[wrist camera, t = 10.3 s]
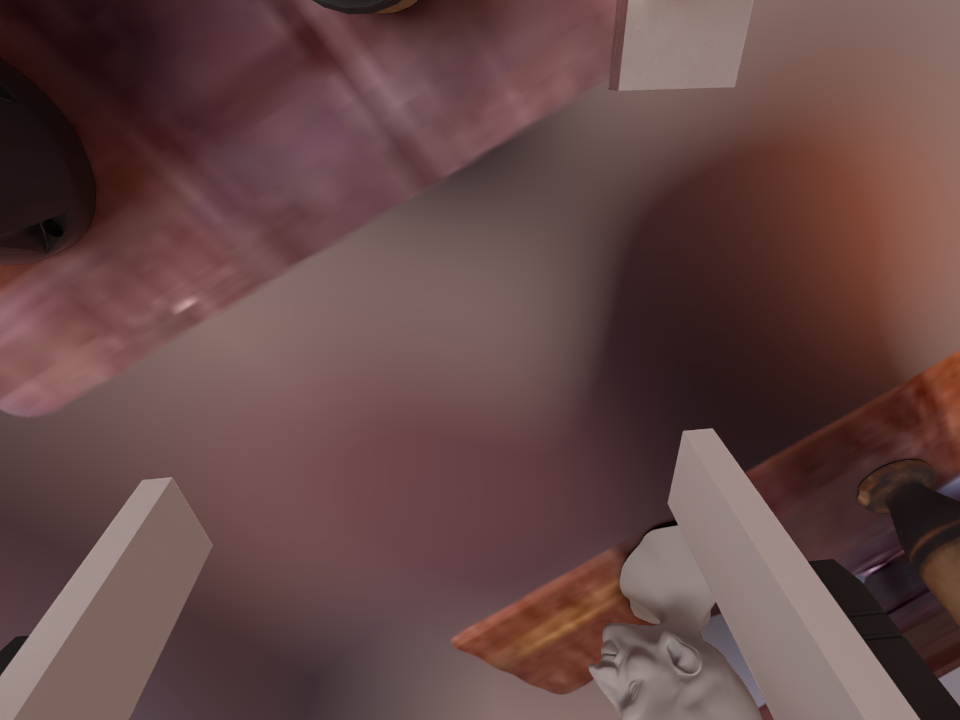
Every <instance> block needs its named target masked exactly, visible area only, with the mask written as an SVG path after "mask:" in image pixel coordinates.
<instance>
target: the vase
mask: <svg viewBox="0 0 960 720" xmlns="http://www.w3.org/2000/svg"><path fill="white" fill-rule="evenodd" d="M936 481H937V476H936V473H935V471H934V470H933V469H932V468H931V467H930V466H929V465H928V464H927V463H925V462H924V461H920V460H913V459H912V460H902V461H898V462H894V463H891V464H888V465H886V466H884V467H882V468H880V469H878V470H876V471H875V472H873V473H872V474H871V475H869V477H867V478H866V479H865V480H864V481H863V482H862V483H861V485H860V487H859V490H860V492H859V495H858V497H857V500H858V502H859V503H860V505H862V506H863V507H864V508H866V509H867V510H869V511H870V512H873V513H876V514H888V513H891V516H892V519H893V522H894V526H895V529H896V532H897V535H898V538H899V540H900V543H901V546H902V548H903V550H904V552H905V554H906V556H907V558H908V559H909V561H910V562H911V564H912V566H913V567H914V569H915V570H916V572H917V573H918V575H919V576H920V578H921V579H922V580H923V582H924V583H925V584H926V586H927V587H928V588H929V590H930V591H931V592H932V593H933V595H934V596H935V597H936V598H937V600H938V601H939V602H940V603H941V604H942V606H943V607H944V608H945V609H946V610H947V612H948V613H949V614H950V615H951V617H952V618H953V619H954V621H955V622H956V623H957V624H958V626H959V627H960V502H959V501H957V500H954V499H952V498H949V497H947V496H944V495H942V494H940V493H938V492H935V491H933V488H934V486H935V484H936Z"/></svg>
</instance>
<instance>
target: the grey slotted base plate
mask: <svg viewBox="0 0 960 720" xmlns="http://www.w3.org/2000/svg"><path fill="white" fill-rule="evenodd" d="M753 5H754V0H617V9H616V19H615V29H614V39H613V48H612V58H611V68H610V78H609V88H608V89H609V90H615V91H636V90H663V89H664V90H666V89H694V88H695V89H697V88H728V87H735V85H736V80H737V76H738V71H739V67H740V63H741V58H742V53H743V49H744V45H745V40H746V36H747V31H748V27H749V22H750V18H751V14H752V9H753Z"/></svg>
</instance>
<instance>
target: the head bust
mask: <svg viewBox="0 0 960 720" xmlns="http://www.w3.org/2000/svg"><path fill="white" fill-rule="evenodd" d="M620 589H621V592H622V594H623V595H624V596H625V597H627V598H628V599H629V600H630V607H631V610H632V612H633V613H634V615H635V616H636V617H638V618H640V619H642V620H645V621H647V622H650V623H653V624H658V625H654V626H644V625H633V624H623V623H610V624H608V625H606V626H605V628H604V630H603V642H604V646H603V647H602V649H601V654H602V658H601V660H600V664H601V666H599V665H596V664H590V665H589V671H590V673H591V675H592V676H593V678H594V679H595V681H596V683H597V684H598V686H599V687H600V688H601V690H602V691H603V693H604V694H605V695H606V696H607V697H608V698H609V699H610V701H611V702H612V703H613V705H614V706H615V707H616V709H617V713H618V716H619V720H762V718H761V715H760V712H759V709H758V707H757V705H756V703H755V701H754V699H753V697H752V696H751V694H750V692H749V691H748V689H747V687H746V685H745V684H744V682H743V681H742V679H741V678H740V677H739V676H738V675H737V673H736V672H735V671H734V670H733V668H732V667H731V666H730V664H729V663H728V661H727V660H726V658H725V657H724V656H723V655H722V653H721V652H720V651H719V650H717V649H716V648H715V647H713V646H712V645H711V644H709V643H707V642H705V641H704V640H703V638H702V636H701V633H700V630H701V628H703V627H704V626H705V625H706V624H707V623H708V622H709V620H710V617H711V608H712V607H713V605H714V604H715V602H716V601H715V599H714V597H713V595H712V592H711V590H710V588H709V586H708V584H707V582H706V580H705V578H704V576H703V574H702V572H701V570H700V568H699V566H698V564H697V562H696V560H695V558H694V556H693V554H692V552H691V550H690V548H689V546H688V544H687V542H686V540H685V538H684V536H683V534H682V532H681V529H680V527H679V525H677V526H671V527H666V528H661V529H656V530H653V531H651V532H649V533H648V534H646V535H645V536H644V538H643V540H642V542H641V543H640V544H639V546H638V547H637V548H636V549H635V550H634V551H633V552H632V553H631V555H630V556H629V557H628V559H627V560H626V562H625V563H624V565H623V567H622V570H621V577H620Z"/></svg>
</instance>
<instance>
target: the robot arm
mask: <svg viewBox="0 0 960 720" xmlns="http://www.w3.org/2000/svg"><path fill="white" fill-rule="evenodd" d="M94 207H95V186H94V180H93V175H92V171H91V168H90V165H89V162H88V159H87V157H86V154H85V152H84V150H83V148H82V145H81V144H80V142H79V140H78V138H77V136H76V135H75V133H74V131H73V130H72V128H71V127H70V125H69V124H68V122H67V121H66V119H65V118H64V117H63V116H62V114H61V113H60V112H59V110H58V109H57V108H56V107H55V106H54V104H53V103H52V102H51V101H50V100H49V99H48V98H47V97H46V96H45V95H44V94H43V93H42V92H41V91H40V90H39V89H38V88H37V87H36V86H35V85H34V84H33V83H31V82H30V81H29V80H28V79H27V78H26V77H24V76H23V75H22V74H21V73H19V72H18V71H17V70H15V69H14V68H12V67H11V66H10V65H8V64H7V63H5V62H4V61H2V60H0V266H6V265H20V264H27V263H31V262H35V261H39V260H42V259H45V258H47V257H49V256H51V255H53V254H55V253H58V252H60V251H62V250H64V249H66V248H68V247H70V246H71V245H73V244H74V243H75V242H76V241H78V240H79V239H80V238H81V237H82V235H83V234H84V233H85V231H86V230H87V228H88V226H89V224H90V222H91V220H92V216H93V213H94ZM668 505H669V507H670V509H671V511H672V513H673V515H674V517H675V519H676V521H677V523H678V525H679V527H680V529H681V532H682V534H683V536H684V538H685V540H686V542H687V544H688V546H689V548H690V550H691V552H692V554H693V556H694V558H695V560H696V562H697V564H698V566H699V568H700V570H701V572H702V574H703V576H704V578H705V580H706V582H707V584H708V586H709V588H710V590H711V592H712V595H713V597H714V599H715V601H716V603H717V605H718V607H719V609H720V611H721V613H722V615H723V617H724V619H725V621H726V623H727V625H728V627H729V629H730V631H731V633H732V635H733V637H734V639H735V641H736V643H737V645H738V647H739V649H740V651H741V653H742V655H743V657H744V659H745V662H746V663H747V666H748V668H749V670H750V671H751V674H752V676H753V678H754V680H755V682H756V684H757V686H758V688H759V690H760V692H761V694H762V696H763V698H764V700H765V702H766V704H767V706H768V708H769V710H770V712H771V714H772V716H773V718H774V720H960V706H959V705H958V704H957V703H956V701H955V700H954V699H953V697H952V696H951V695H950V694H949V692H948V691H947V690H946V688H945V687H944V686H943V685H942V683H941V682H940V681H939V680H938V678H937V677H936V676H935V675H934V673H933V672H932V671H931V669H930V668H929V667H928V666H927V664H926V663H925V662H924V661H923V659H922V658H921V657H920V655H919V654H918V653H917V652H916V650H915V649H914V648H913V647H912V645H911V644H910V643H909V642H908V640H907V639H906V638H905V637H902V636H901V634H900V630H899V629H898V628H897V626H896V625H895V624H894V622H893V621H892V620H891V619H890V617H889V616H888V615H887V614H884V613H883V611H882V607H881V606H880V605H879V603H878V602H877V601H876V600H875V598H874V597H873V596H872V595H871V593H870V592H869V591H868V590H867V588H866V587H865V586H864V584H863V583H862V582H861V581H860V580H859V579H857V578H856V577H855V576H854V575H852V574H851V573H850V572H849V571H847V570H846V569H845V568H844V567H842V566H841V565H840V564H839V563H837V562H836V561H835V560H833V559H828V560H818V561H807V560H806V559H805V557H804V556H803V555H802V553H801V552H800V550H799V549H798V548H797V546H796V545H795V543H794V542H793V541H792V539H791V538H790V536H789V535H788V534H787V532H786V531H785V529H784V528H783V526H782V525H781V524H780V522H779V521H778V519H777V518H776V517H775V515H774V514H773V512H772V511H771V510H770V508H769V507H768V505H767V504H766V503H765V501H764V500H763V498H762V497H761V496H760V494H759V493H758V491H757V490H756V489H755V487H754V486H753V484H752V483H751V482H750V480H749V479H748V477H747V476H746V475H745V473H744V472H743V470H742V469H741V468H740V466H739V465H738V463H737V462H736V461H735V459H734V458H733V456H732V455H731V454H730V452H729V451H728V449H727V448H726V447H725V445H724V444H723V442H722V441H721V440H720V438H719V437H718V435H717V434H716V432H715V431H714V430H713V429H700V430H689V431H683V434H682V439H681V443H680V448H679V453H678V457H677V462H676V467H675V472H674V476H673V481H672V486H671V490H670V495H669V500H668ZM212 546H213V545H212V543H211V541H210V540H209V538H208V536H207V535H206V533H205V531H204V530H203V528H202V526H201V525H200V523H199V521H198V520H197V518H196V516H195V515H194V513H193V511H192V509H191V508H190V506H189V505H188V503H187V501H186V499H185V498H184V496H183V495H182V493H181V491H180V489H179V488H178V486H177V484H176V482H175V481H174V479H173V478H172V477H170V478H159V479H148V480H142V481H141V483H140V484H139V486H138V487H137V488H136V489H135V491H134V492H133V494H132V495H131V496H130V498H129V499H128V501H127V502H126V503H125V505H124V506H123V508H122V509H121V510H120V512H119V513H118V514H117V516H116V517H115V518H114V520H113V521H112V523H111V524H110V525H109V527H108V528H107V530H106V531H105V532H104V534H103V535H102V537H101V538H100V540H99V541H98V542H97V543H96V545H95V546H94V548H93V549H92V550H91V552H90V553H89V554H88V556H87V557H86V559H85V560H84V561H83V563H82V564H81V565H80V567H79V568H78V570H77V571H76V572H75V574H74V575H73V577H72V578H71V579H70V581H69V582H68V583H67V585H66V586H65V588H64V589H63V591H62V592H61V593H60V595H59V596H58V597H57V599H56V600H55V602H54V603H53V604H52V606H51V607H50V608H49V610H48V611H47V612H46V614H45V615H44V617H43V618H42V620H41V621H40V622H39V624H38V625H37V627H36V628H35V629H34V630H33V632H32V633H31V635H30V636H20V637H15V638H14V639H13V640H12V641H11V642H10V643H9V644H8V645H6V646H5V647H4V648H3V649H2V650H1V651H0V720H129V717H130V716H131V714H132V712H133V709H134V707H135V705H136V703H137V701H138V699H139V697H140V695H141V693H142V691H143V689H144V687H145V685H146V683H147V681H148V679H149V676H150V674H151V672H152V670H153V668H154V666H155V664H156V662H157V660H158V658H159V656H160V653H161V652H162V650H163V647H164V645H165V643H166V641H167V639H168V637H169V635H170V633H171V631H172V629H173V627H174V625H175V623H176V620H177V618H178V616H179V614H180V612H181V610H182V608H183V606H184V604H185V602H186V600H187V598H188V596H189V594H190V591H191V589H192V587H193V585H194V583H195V581H196V579H197V577H198V575H199V573H200V571H201V569H202V566H203V564H204V562H205V560H206V558H207V556H208V554H209V552H210V550H211V548H212Z"/></svg>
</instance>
